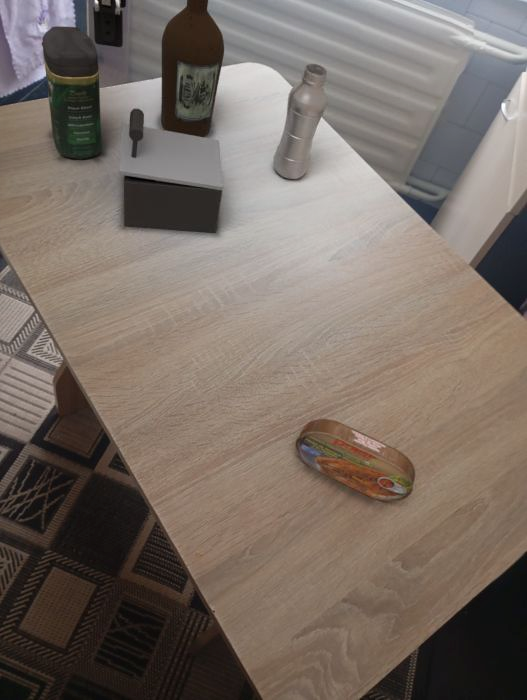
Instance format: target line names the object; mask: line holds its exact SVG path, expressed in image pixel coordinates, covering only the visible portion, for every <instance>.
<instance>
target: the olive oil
mask: <svg viewBox="0 0 527 700" xmlns="http://www.w3.org/2000/svg"><path fill="white" fill-rule="evenodd" d="M208 5H209V0H186V6H185V7H184V8H183V9H182V10H181V11H179V12H177V14H175V15H174V16H173V17H171V18H170V20H168V22H167V24H166V25H165V27H164V29H163V34H162V36H161V37H162V38H161V102H160V103H161V105H160V107H161V108H160V109H161V110H160V112H161V113H160V123H161V126H162V128H163V130H165V131H171V132H176V133H182V134H187V135H193V136H198V137H204V138H205V137H206V136H207V135H208V134H209V132H210V130H211V127H212V120H213V114H214V108H215V102H216V98H217V97H216V96H217V92H218V87H219V86H218V85H219V81H220V77H221V71H222V66H223V60H224V55H225V42H224V37H223V34H222V30H221V29H220V27H219V26H218V24H217V23H216V21H215V20H214V19H213V17H212V16H211V14H210V13H209V11H208Z"/></svg>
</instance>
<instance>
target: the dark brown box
mask: <svg viewBox="0 0 527 700" xmlns="http://www.w3.org/2000/svg"><path fill="white" fill-rule="evenodd" d="M123 176H124V177H123V226H124V227H129V228H141V229H154V230H167V231H184V232H195V233H208V234H209V233H210V234H216V232H217V231H216V230H217V224H218V218H219V214H220V208H221V207H220V206H221V201H222V196H223V189H222V190H216V189H209V188H203V187H196V186H190V185H184V184H176V183H165V182H156V180H151V179H145V178H139V177H132V176H126V175H123Z"/></svg>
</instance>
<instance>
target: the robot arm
mask: <svg viewBox="0 0 527 700" xmlns="http://www.w3.org/2000/svg"><path fill="white" fill-rule="evenodd" d="M126 5H127V0H94V6H92V7H93V8H92V10H93V13H92V14H93V33H94V42H95V43H94V44H97V45H100V46H106V47H107V46H108V47H113V48H122V47H123V43H124V37H123V36H124V34H123V33H124V28H123V27H124V26H123V25H124V24H123V18H124V17H123V16H124V15H123V12H124V11H123V10H121V9H125V8H126Z"/></svg>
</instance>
